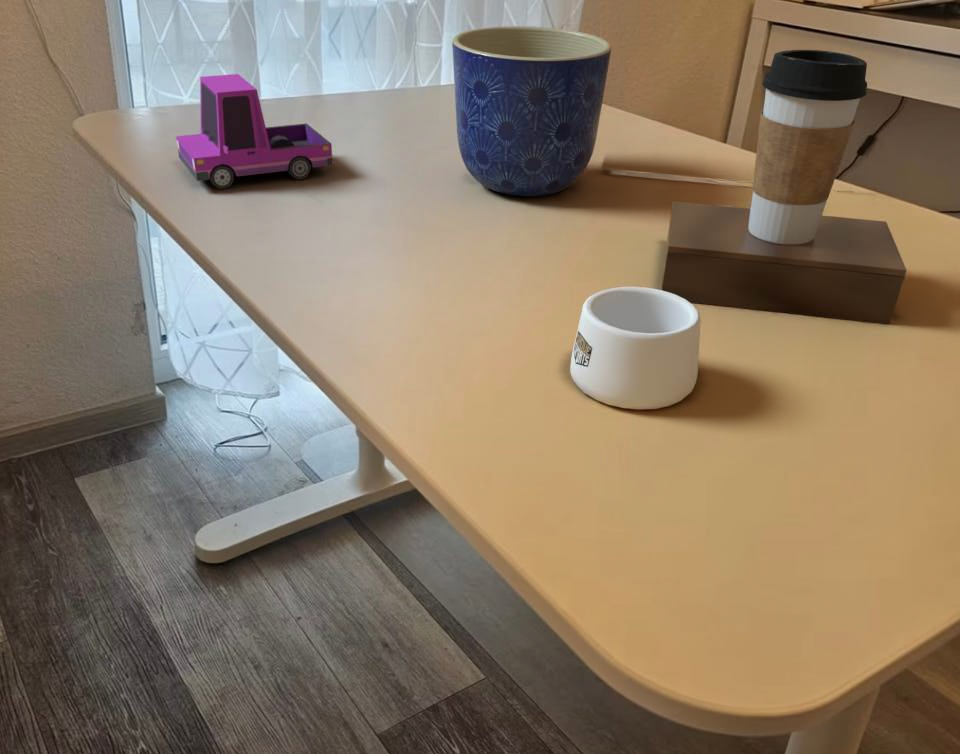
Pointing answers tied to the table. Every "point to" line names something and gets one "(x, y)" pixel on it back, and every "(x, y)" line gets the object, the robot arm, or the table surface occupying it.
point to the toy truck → (246, 137)
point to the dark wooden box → (783, 265)
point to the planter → (528, 105)
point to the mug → (636, 348)
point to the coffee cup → (802, 140)
